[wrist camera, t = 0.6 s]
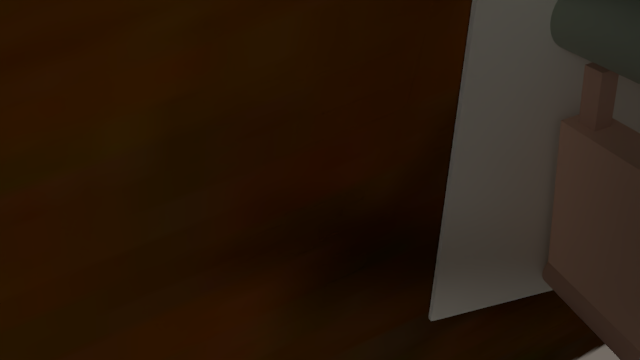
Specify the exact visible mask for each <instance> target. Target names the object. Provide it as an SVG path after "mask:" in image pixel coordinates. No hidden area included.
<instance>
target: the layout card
mask: <svg viewBox="0 0 640 360" xmlns="http://www.w3.org/2000/svg"><path fill="white" fill-rule="evenodd" d="M557 1H558V0H472V7H471V14H470V21H469V28H468V36H467V43H466V50H465V57H464V65H463V72H462V79H461V86H460V93H459V101H458V108H457V115H456V122H455V130H454V137H453V144H452V151H451V158H450V166H449V173H448V180H447V187H446V195H445V202H444V209H443V216H442V224H441V231H440V238H439V245H438V252H437V260H436V267H435V274H434V281H433V289H432V296H431V303H430V310H429V319H430V321H435V320H438V319H442V318H446V317H450V316H454V315H458V314H462V313H466V312H470V311H473V310H477V309H481V308H485V307H489V306H493V305H497V304H501V303H504V302H508V301H512V300H516V299H520V298H524V297H528V296H532V295H536V294H539V293H543V292H547V291H551V290H553V289H552V288H551V287H550V286H549V285H548V284H547V283H546V282H545V281H544V280H543V277H542V272H543V269H544V267H545V265H546V264H547V262H548V256H549V246H550V235H551V224H552V213H553V202H554V191H555V180H556V169H557V158H558V147H559V136H560V125H561V120H564V119H567V118H570V117H573V116H576V115H579V113H580V104H581V95H582V86H583V77H584V69H585V65H586V64H589V63H592V62H591V61H589V60H587V59H585V58H582V57H580V56H578V55H576V54H574V53H572V52H570V51H567V50H565V49H563V48H561V47H559V46H558V45H557V44H556V43H555V42H554V40H553V38H552V35H551V31H550V21H551V16H552V12H553V9H554V7H555V4H556V2H557ZM612 118H613V119H615V120H617V121H619V122H621V123H622V124H624V125H626V126H628V127H629V128H631V129H633V130H635V131H637V132H638V133H640V84H638V83H636V82H634V81H632V80H630V79H627V78H625V77H623V76H621V75H619V77H618V84H617V90H616V97H615V103H614V110H613V116H612Z"/></svg>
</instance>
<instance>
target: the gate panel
mask: <svg viewBox="0 0 640 360" xmlns="http://www.w3.org/2000/svg"><path fill="white" fill-rule="evenodd" d="M618 77H619V74H617V73H615V72H612V71H610V70H608V69H606V68H604V67H602V66H600V65H597V64H595V63H593V62H592V63H589V64H586V65H585V69H584V77H583V86H582V95H581V104H580V113H579V115H576V116H573V117H570V118H567V119H564V120H561V125H560V136H559V147H558V158H557V169H556V180H555V191H554V202H553V213H552V224H551V235H550V246H549V256H548V262H547V264H546V265H545V267H544V269H543V272H542V277H543V280H544V281H545V282H546V283H547V284H548V285H549V286H550V287H551V288H552V289H553V290H554V291H555V292H556V293H557V294H558V295H559V296H560V297H561V299H562V300H563V301H564V302H565V303H566V304H567V305H568V306H569V307H570V308H571V309H572V310H573V311H574V312H575V313H576V314H577V315H578V316H579V317H580V318H581V319H582V320H583V321H584V322H585V323H586V324H587V325H588V326H589V327H590V329H591V330H592V331H593V332H594V333H595V334H596V335H597V336H598V337H599V338H600V339H601V340H602V341H603V342H604V343H605V344H606V345H607V346H608V347H609V348H610V349H611V350H612V351H613V352H614V353H615V354H616V355H617V356H618V357H619V359H620V360H639V358H640V133H638V132H637V131H635V130H633V129H631V128H629V127H628V126H626V125H624V124H622V123H621V122H619V121H617V120H615V119H613V118H612V116H613V110H614V103H615V97H616V90H617V84H618Z"/></svg>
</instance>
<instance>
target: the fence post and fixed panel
mask: <svg viewBox="0 0 640 360" xmlns="http://www.w3.org/2000/svg"><path fill="white" fill-rule="evenodd" d="M550 31H551V35H552V38H553V40H554V42H555V43H556V44H557V45H558V46H559V47H561V48H563V49H565V50H567V51H570V52H572V53H574V54H576V55H578V56H580V57H582V58H585V59H587V60H589V61H591V62H593V63H595V64H597V65H600V66H602V67H604V68H606V69H608V70H610V71H612V72H615V73H617V74H619V75H621V76H623V77H625V78H627V79H630V80H632V81H634V82H636V83H638V84H640V0H558V1H557V2H556V4H555V7H554V9H553V12H552V16H551V21H550Z"/></svg>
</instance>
